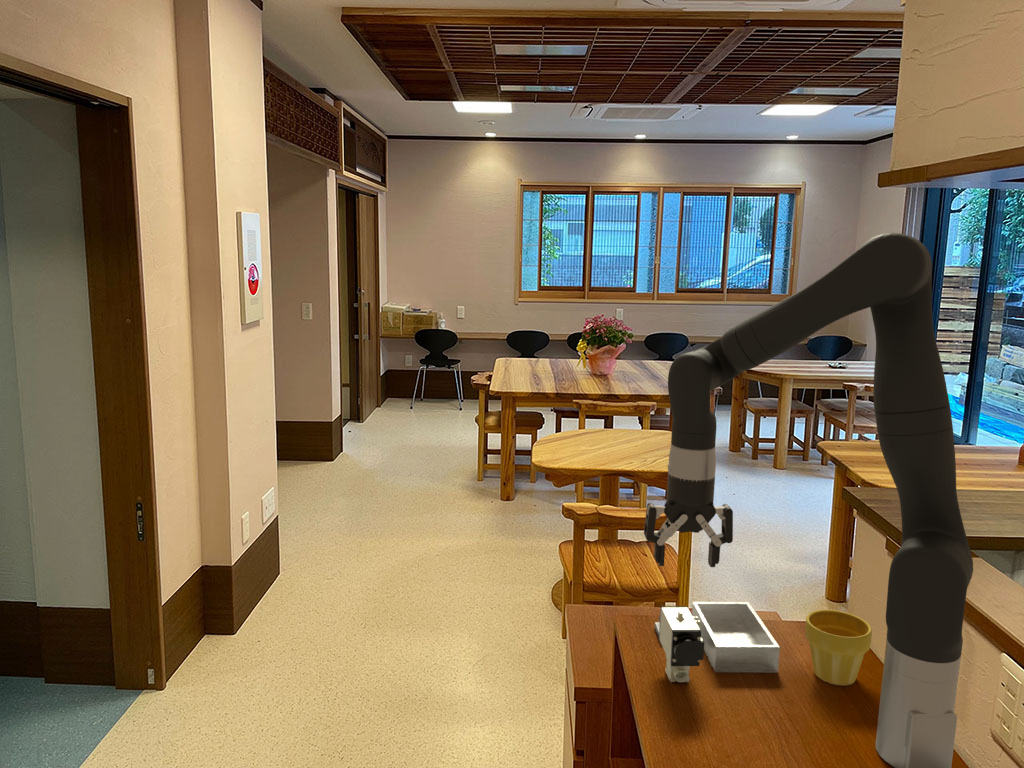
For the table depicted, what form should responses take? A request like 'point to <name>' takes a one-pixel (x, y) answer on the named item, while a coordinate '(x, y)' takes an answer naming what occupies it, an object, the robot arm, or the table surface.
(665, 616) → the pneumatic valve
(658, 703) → the table surface
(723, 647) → the seat cradle
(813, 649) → the plant pot
